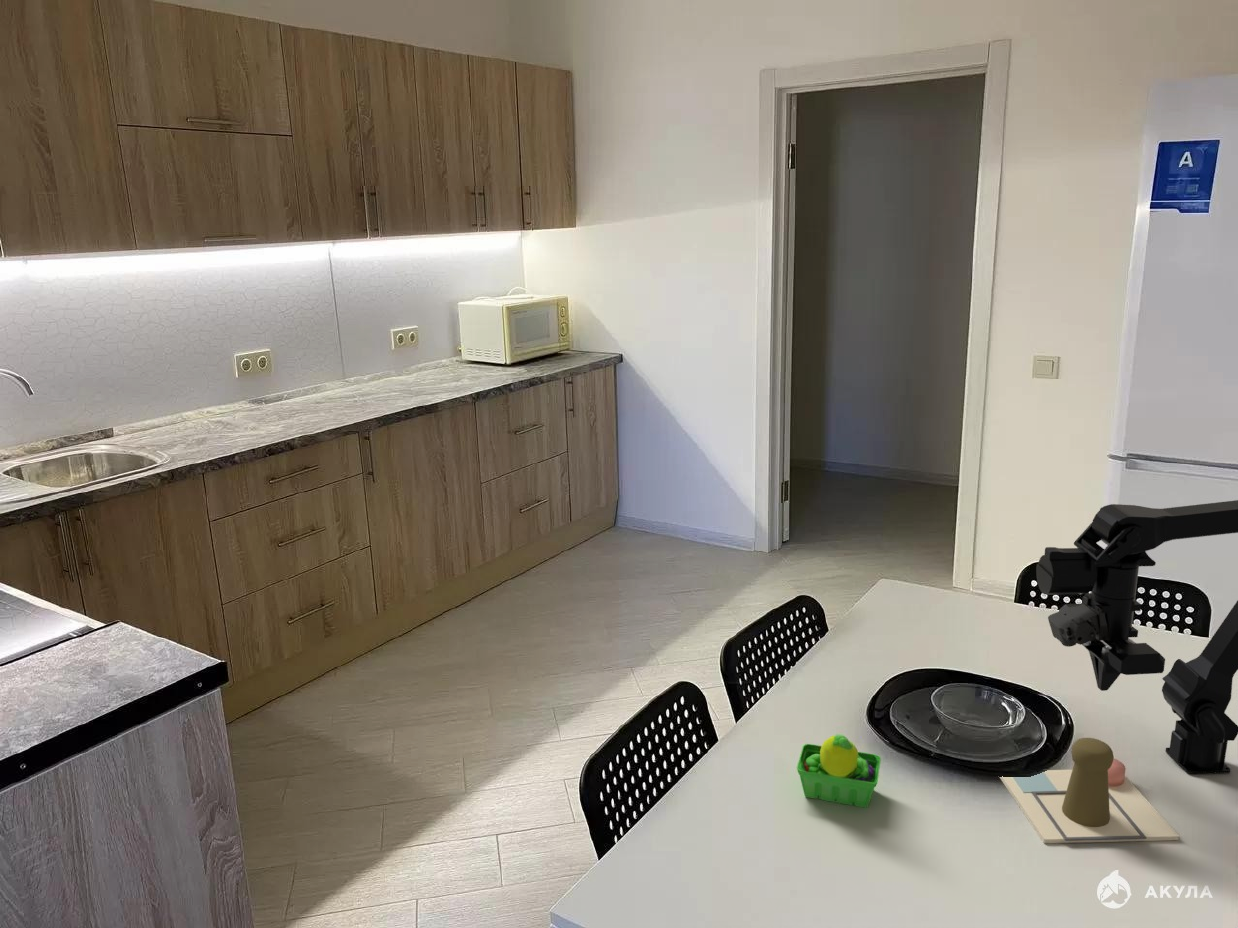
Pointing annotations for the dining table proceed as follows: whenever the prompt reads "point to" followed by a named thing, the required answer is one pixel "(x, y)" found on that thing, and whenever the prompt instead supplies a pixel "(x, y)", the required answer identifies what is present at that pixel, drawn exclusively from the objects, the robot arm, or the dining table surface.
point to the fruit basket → (838, 772)
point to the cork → (1089, 783)
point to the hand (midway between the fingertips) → (1102, 689)
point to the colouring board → (1045, 814)
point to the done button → (1116, 773)
